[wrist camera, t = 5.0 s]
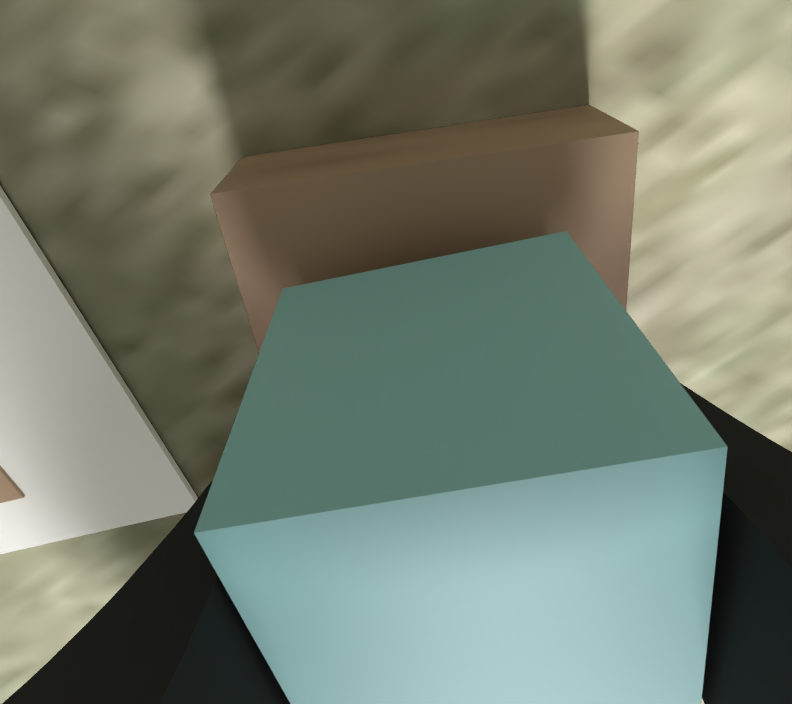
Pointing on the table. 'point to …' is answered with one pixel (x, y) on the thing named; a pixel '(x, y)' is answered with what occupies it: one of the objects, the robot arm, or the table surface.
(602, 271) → the brown block
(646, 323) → the table surface
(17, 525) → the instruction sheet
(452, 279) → the teal brick
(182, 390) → the table surface
